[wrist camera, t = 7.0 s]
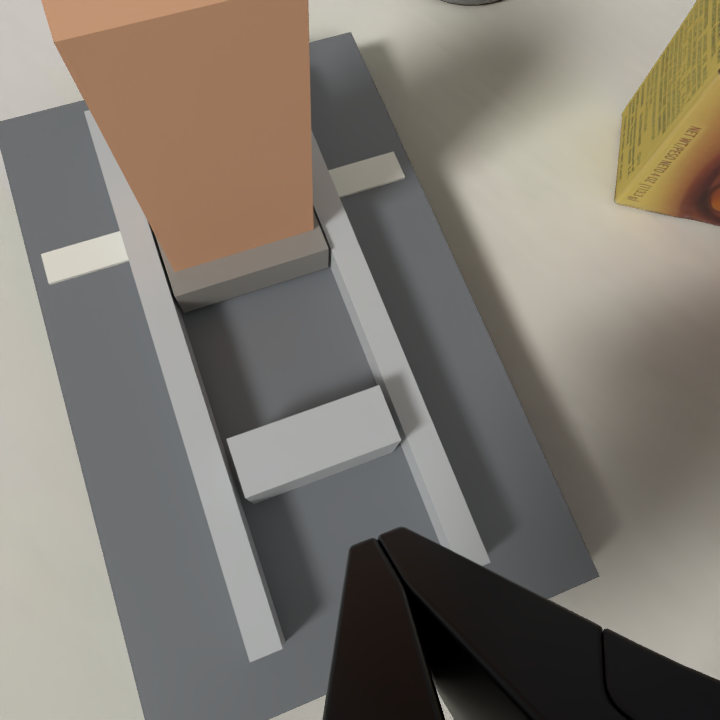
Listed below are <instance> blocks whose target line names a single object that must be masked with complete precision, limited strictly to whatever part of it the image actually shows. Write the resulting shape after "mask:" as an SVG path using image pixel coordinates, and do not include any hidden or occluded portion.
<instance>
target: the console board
mask: <svg viewBox="0 0 720 720" xmlns="http://www.w3.org/2000/svg"><path fill="white" fill-rule="evenodd" d="M309 56H310V98H311V141H312V183H313V211H314V213H315V216H316V218H317V221H318V223H319V226H320V228H321V231H322V233H323V236H324V238H325V241H326V243H327V246H328V248H329V257H328V268H325V269H322V270H319V271H316V272H312V273H309V274H306V275H303V276H300V277H297V278H293V279H290V280H287V281H284V282H281V283H278V284H275V285H271V286H268V287H265V288H262V289H259V290H256V291H252V292H249V293H246V294H243V295H240V296H237V297H234V298H230V299H227V300H224V301H221V302H218V303H215V304H212V305H208V306H205V307H202V308H199V309H196V310H193V311H189V312H186V313H184V312H183V310H182V309H181V307H180V305H179V303H178V302H177V300H176V298H175V296H174V293H173V290H172V287H171V283H170V280H169V277H168V274H167V271H166V268H165V265H164V261H163V258H162V255H161V252H160V249H159V246H158V242H157V239H156V236H155V234H154V232H153V230H152V228H151V226H150V224H149V222H148V220H147V218H146V216H145V215H144V213H143V211H142V209H141V207H140V205H139V203H138V201H137V199H136V197H135V196H134V194H133V192H132V190H131V188H130V186H129V184H128V182H127V180H126V178H125V177H124V175H123V173H122V171H121V169H120V167H119V165H118V163H117V161H116V159H115V158H114V156H113V154H112V152H111V150H110V148H109V146H108V144H107V142H106V140H105V139H104V137H103V135H102V133H101V131H100V129H99V127H98V125H97V123H96V121H95V120H94V118H93V116H92V114H91V112H90V110H89V108H88V106H87V104H86V102H85V101H84V100H83V101H79V102H75V103H71V104H67V105H63V106H59V107H55V108H51V109H47V110H43V111H40V112H36V113H32V114H28V115H24V116H20V117H16V118H12V119H8V120H4V121H0V149H1V153H2V157H3V161H4V165H5V169H6V172H7V176H8V180H9V184H10V188H11V192H12V196H13V200H14V204H15V208H16V212H17V216H18V220H19V224H20V228H21V232H22V236H23V240H24V244H25V248H26V251H27V255H28V259H29V263H30V267H31V271H32V275H33V279H34V283H35V287H36V291H37V295H38V299H39V303H40V307H41V311H42V315H43V319H44V323H45V327H46V330H47V334H48V338H49V342H50V346H51V350H52V354H53V358H54V362H55V366H56V370H57V374H58V378H59V382H60V386H61V390H62V394H63V398H64V402H65V406H66V410H67V413H68V417H69V421H70V425H71V429H72V433H73V437H74V441H75V445H76V449H77V453H78V457H79V461H80V465H81V469H82V473H83V477H84V481H85V485H86V489H87V492H88V496H89V500H90V504H91V508H92V512H93V516H94V520H95V524H96V528H97V532H98V536H99V540H100V544H101V548H102V552H103V556H104V560H105V564H106V568H107V572H108V575H109V579H110V583H111V587H112V591H113V595H114V599H115V603H116V607H117V611H118V615H119V619H120V623H121V627H122V631H123V635H124V639H125V643H126V647H127V651H128V654H129V658H130V662H131V666H132V670H133V674H134V678H135V682H136V686H137V690H138V694H139V698H140V702H141V706H142V710H143V714H144V718H145V720H268V719H271V718H273V717H275V716H278V715H280V714H282V713H285V712H287V711H289V710H292V709H294V708H296V707H298V706H301V705H303V704H305V703H308V702H310V701H312V700H315V699H317V698H319V697H322V696H324V695H326V694H327V687H328V681H329V674H330V668H331V661H332V655H333V648H334V642H335V635H336V629H337V622H338V616H339V609H340V602H341V596H342V589H343V583H344V576H345V570H346V563H347V557H348V551H349V548H350V547H351V546H352V545H354V544H357V543H359V542H362V541H364V540H367V539H369V538H375V539H377V540H378V536H379V535H380V534H382V533H384V532H387V531H389V530H392V529H395V528H397V527H400V526H403V527H406V528H408V529H410V530H412V531H414V532H416V533H418V534H420V535H422V536H424V537H426V538H428V539H430V540H432V541H434V542H436V543H438V544H440V545H442V546H444V547H446V548H448V549H450V550H452V551H453V552H455V553H457V554H459V555H461V556H463V557H465V558H467V559H469V560H471V561H473V562H475V563H477V564H479V565H481V566H483V567H485V568H487V569H489V570H491V571H493V572H495V573H497V574H499V575H501V576H503V577H505V578H507V579H509V580H511V581H513V582H515V583H517V584H519V585H521V586H523V587H525V588H527V589H528V590H530V591H532V592H534V593H536V594H538V595H540V596H542V597H544V598H546V599H548V598H551V597H553V596H555V595H558V594H560V593H562V592H564V591H567V590H569V589H571V588H574V587H576V586H578V585H581V584H583V583H585V582H588V581H590V580H592V579H595V578H597V577H599V574H598V572H597V570H596V567H595V565H594V563H593V561H592V559H591V557H590V554H589V552H588V550H587V548H586V546H585V543H584V541H583V539H582V537H581V535H580V532H579V530H578V528H577V526H576V524H575V522H574V519H573V517H572V515H571V513H570V511H569V508H568V506H567V504H566V502H565V500H564V497H563V495H562V493H561V491H560V489H559V487H558V484H557V482H556V480H555V478H554V476H553V473H552V471H551V469H550V467H549V465H548V462H547V460H546V458H545V456H544V454H543V452H542V449H541V447H540V445H539V443H538V441H537V438H536V436H535V434H534V432H533V430H532V427H531V425H530V423H529V421H528V419H527V417H526V414H525V412H524V410H523V408H522V406H521V403H520V401H519V399H518V397H517V395H516V392H515V390H514V388H513V386H512V384H511V382H510V379H509V377H508V375H507V373H506V371H505V368H504V366H503V364H502V362H501V360H500V357H499V355H498V353H497V351H496V349H495V347H494V344H493V342H492V340H491V338H490V336H489V333H488V331H487V329H486V327H485V325H484V322H483V320H482V318H481V316H480V314H479V312H478V309H477V307H476V305H475V303H474V301H473V298H472V296H471V294H470V292H469V290H468V287H467V285H466V283H465V281H464V279H463V276H462V274H461V272H460V270H459V268H458V266H457V263H456V261H455V259H454V257H453V255H452V252H451V250H450V248H449V246H448V244H447V241H446V239H445V237H444V235H443V233H442V231H441V228H440V226H439V224H438V222H437V220H436V217H435V215H434V213H433V211H432V209H431V206H430V204H429V202H428V200H427V198H426V196H425V193H424V191H423V189H422V187H421V185H420V182H419V180H418V178H417V176H416V174H415V171H414V169H413V167H412V165H411V163H410V161H409V158H408V156H407V154H406V152H405V150H404V147H403V145H402V143H401V141H400V139H399V136H398V134H397V132H396V130H395V128H394V126H393V123H392V121H391V119H390V117H389V115H388V112H387V110H386V108H385V106H384V104H383V101H382V99H381V97H380V95H379V93H378V91H377V88H376V86H375V84H374V82H373V80H372V77H371V75H370V73H369V71H368V69H367V66H366V64H365V62H364V60H363V58H362V56H361V53H360V51H359V49H358V47H357V45H356V42H355V40H354V38H353V36H352V34H351V32H349V33H345V34H341V35H338V36H334V37H330V38H326V39H322V40H318V41H314V42H310V43H309Z"/></svg>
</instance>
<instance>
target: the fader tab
mask: <svg viewBox="0 0 720 720" xmlns="http://www.w3.org/2000/svg"><path fill="white" fill-rule="evenodd" d="M41 1H42V4H43V7H44V11H45V14H46V17H47V21H48V24H49V28H50V31H51V34H52V38H53V41H54V44H55V45H56V47H57V49H58V51H59V53H60V55H61V57H62V59H63V61H64V63H65V64H66V66H67V68H68V70H69V72H70V74H71V76H72V78H73V80H74V82H75V83H76V85H77V87H78V89H79V91H80V93H81V95H82V97H83V99H84V101H85V102H86V104H87V106H88V108H89V110H90V112H91V114H92V116H93V118H94V120H95V121H96V123H97V125H98V127H99V129H100V131H101V133H102V135H103V137H104V139H105V140H106V142H107V144H108V146H109V148H110V150H111V152H112V154H113V156H114V158H115V159H116V161H117V163H118V165H119V167H120V169H121V171H122V173H123V175H124V177H125V178H126V180H127V182H128V184H129V186H130V188H131V190H132V192H133V194H134V196H135V197H136V199H137V201H138V203H139V205H140V207H141V209H142V211H143V213H144V215H145V216H146V218H147V220H148V222H149V224H150V226H151V228H152V230H153V232H154V234H155V236H156V239H157V242H158V246H159V249H160V252H161V255H162V258H163V261H164V265H165V268H166V271H167V274H168V277H169V280H170V283H171V287H172V290H173V293H174V296H175V298H176V300H177V302H178V303H179V305H180V307H181V309H182V310H183V312H184V313H186V312H189V311H193V310H196V309H199V308H202V307H205V306H208V305H212V304H215V303H218V302H221V301H224V300H227V299H230V298H234V297H237V296H240V295H243V294H246V293H249V292H252V291H256V290H259V289H262V288H265V287H268V286H271V285H275V284H278V283H281V282H284V281H287V280H290V279H293V278H297V277H300V276H303V275H306V274H309V273H312V272H316V271H319V270H322V269H325V268H328V257H329V248H328V246H327V243H326V241H325V238H324V236H323V233H322V231H321V228H320V226H319V223H318V221H317V218H316V216H315V213H314V211H313V183H312V141H311V98H310V56H309V13H308V0H41Z"/></svg>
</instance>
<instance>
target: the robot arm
mask: <svg viewBox="0 0 720 720" xmlns="http://www.w3.org/2000/svg"><path fill="white" fill-rule="evenodd" d="M436 689H437V691H438V693H439V695H440V696H441V698H442V700H443V701H444V703H445V705H446V706H447V708H448V710H449V712H450V713H451V715H452V717H453V718H454V720H720V680H717V679H715V678H713V677H710V676H708V675H705V674H703V673H701V672H698V671H696V670H693V669H691V668H689V667H686V666H684V665H682V664H680V663H677V662H675V661H673V660H671V659H669V658H667V657H665V656H663V655H661V654H658V653H656V652H654V651H652V650H650V649H648V648H646V647H644V646H642V645H639V644H637V643H635V642H633V641H631V640H629V639H627V638H625V637H623V636H621V635H619V634H617V633H615V632H613V631H611V630H609V629H604V630H603V631H602V627H601V626H599V625H598V624H596V623H594V622H592V621H590V620H588V619H586V618H584V617H582V616H580V615H578V614H576V613H574V612H572V611H570V610H568V609H566V608H564V607H562V606H560V605H558V604H556V603H554V602H552V601H550V600H548V599H546V598H544V597H542V596H540V595H538V594H536V593H534V592H532V591H530V590H528V589H527V588H525V587H523V586H521V585H519V584H517V583H515V582H513V581H511V580H509V579H507V578H505V577H503V576H501V575H499V574H497V573H495V572H493V571H491V570H489V569H487V568H485V567H483V566H481V565H479V564H477V563H475V562H473V561H471V560H469V559H467V558H465V557H463V556H461V555H459V554H457V553H455V552H453V551H452V550H450V549H448V548H446V547H444V546H442V545H440V544H438V543H436V542H434V541H432V540H430V539H428V538H426V537H424V536H422V535H420V534H418V533H416V532H414V531H412V530H410V529H408V528H406V527H403V526H400V527H397V528H395V529H392V530H389V531H387V532H384V533H382V534H380V535H379V536H378V540H377V539H375V538H369V539H367V540H364V541H362V542H359V543H357V544H354V545H352V546H351V547H350V548H349V551H348V557H347V563H346V570H345V576H344V583H343V589H342V596H341V602H340V609H339V616H338V622H337V629H336V635H335V642H334V648H333V655H332V661H331V668H330V674H329V681H328V687H327V694H326V701H325V707H324V714H323V720H445V718H444V714H443V711H442V707H441V704H440V701H439V697H438V694H437V691H436Z"/></svg>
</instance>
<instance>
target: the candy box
mask: <svg viewBox="0 0 720 720" xmlns="http://www.w3.org/2000/svg"><path fill="white" fill-rule="evenodd" d="M614 201H615V203H617V204H619V205H625V206H629V207H634V208H638V209H642V210H647V211H651V212H655V213H660V214H664V215H669V216H674V217H678V218H686V219H692V220H696V221H700V222H705V223H709V224H713V225H717V226H720V0H697V1H696V3H695V5H694V6H693V8H692V9H691V11H690V12H689V14H688V15H687V17H686V18H685V20H684V21H683V23H682V24H681V26H680V28H679V29H678V31H677V32H676V34H675V35H674V37H673V38H672V40H671V41H670V43H669V44H668V46H667V47H666V49H665V50H664V51H663V53H662V54H661V56H660V57H659V59H658V60H657V62H656V63H655V65H654V66H653V68H652V69H651V71H650V73H649V74H648V76H647V77H646V79H645V80H644V82H643V83H642V84H641V86H640V87H639V89H638V90H637V92H636V93H635V95H634V96H633V98H632V99H631V100H630V102H629V103H628V105H627V106H626V108H625V110H624V111H623V113H622V126H621V138H620V149H619V158H618V170H617V180H616V189H615V199H614Z"/></svg>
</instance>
